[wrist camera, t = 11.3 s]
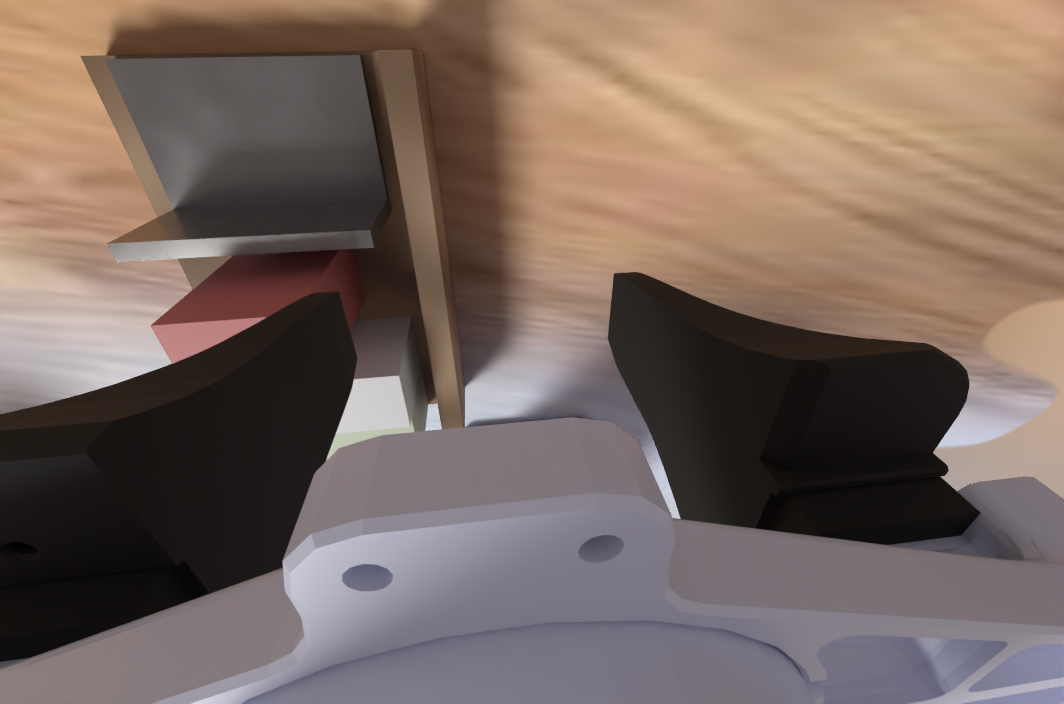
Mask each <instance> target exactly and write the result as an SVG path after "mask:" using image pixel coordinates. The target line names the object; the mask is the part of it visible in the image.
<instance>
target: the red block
mask: <svg viewBox="0 0 1064 704" xmlns="http://www.w3.org/2000/svg"><path fill="white" fill-rule="evenodd" d="M335 291H339V294H340V298H341V301H342V305H343V308H344V312H345V315H346V319H347V322H348V326H349V330H350V333H351V331H352V329H353V326H354V324H355V321H356V319H357V317H358V314H359V312H360V310H361V307H362V305H363V302H364V300H365V298H364V294H363V290H362V286H361V282H360V279H359V275H358V271H357V267H356V263H355V259H354V255H353V251H352V249H339V250H321V251H303V252H285V253H267V254H250V255H233V256H232V257H231V258H230V259H229V260H227V261H226V262H225V263H224V264H223V265H222V266H220V267H219V268H218V269H217V270H216V271H215V272H213V273H212V274H211V275H210V276H209V277H207V278H206V279H205V280H204V281H203V282H202V283H200V284H199V285H198V286H197V287H196V288H194V289H193V290H192V291H191V292H190V293H189V294H187V295H186V296H185V297H184V298H183V299H182V300H180V301H179V302H178V303H177V304H176V305H174V306H173V307H172V308H171V309H170V310H169V311H167V312H166V313H165V314H164V315H163V316H161V317H160V318H159V319H158V320H157V321H156V322H154V323H153V324H152V325H151V327H152V329H153V331H154V333H155V334H156V336H157V338H158V340H159V341H160V343H161V345H162V347H163V348H164V350H165V352H166V353H167V355H168V357H169V359H170V360H171V362H172V364H173V363H176V362H178V361H180V360H183V359H185V358H187V357H190V356H192V355H194V354H197V353H199V352H201V351H203V350H206V349H208V348H210V347H212V346H214V345H216V344H218V343H220V342H222V341H224V340H226V339H228V338H230V337H232V336H234V335H235V334H237V333H239V332H241V331H243V330H245V329H247V328H249V327H251V326H252V325H254V324H256V323H258V322H260V321H261V320H263V319H265V318H267V317H268V316H270V315H272V314H274V313H275V312H277V311H279V310H281V309H282V308H284V307H286V306H288V305H289V304H291V303H293V302H295V301H297V300H299V299H301V298H303V297H305V296H307V295H309V294H312V293H320V292H335Z"/></svg>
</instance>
